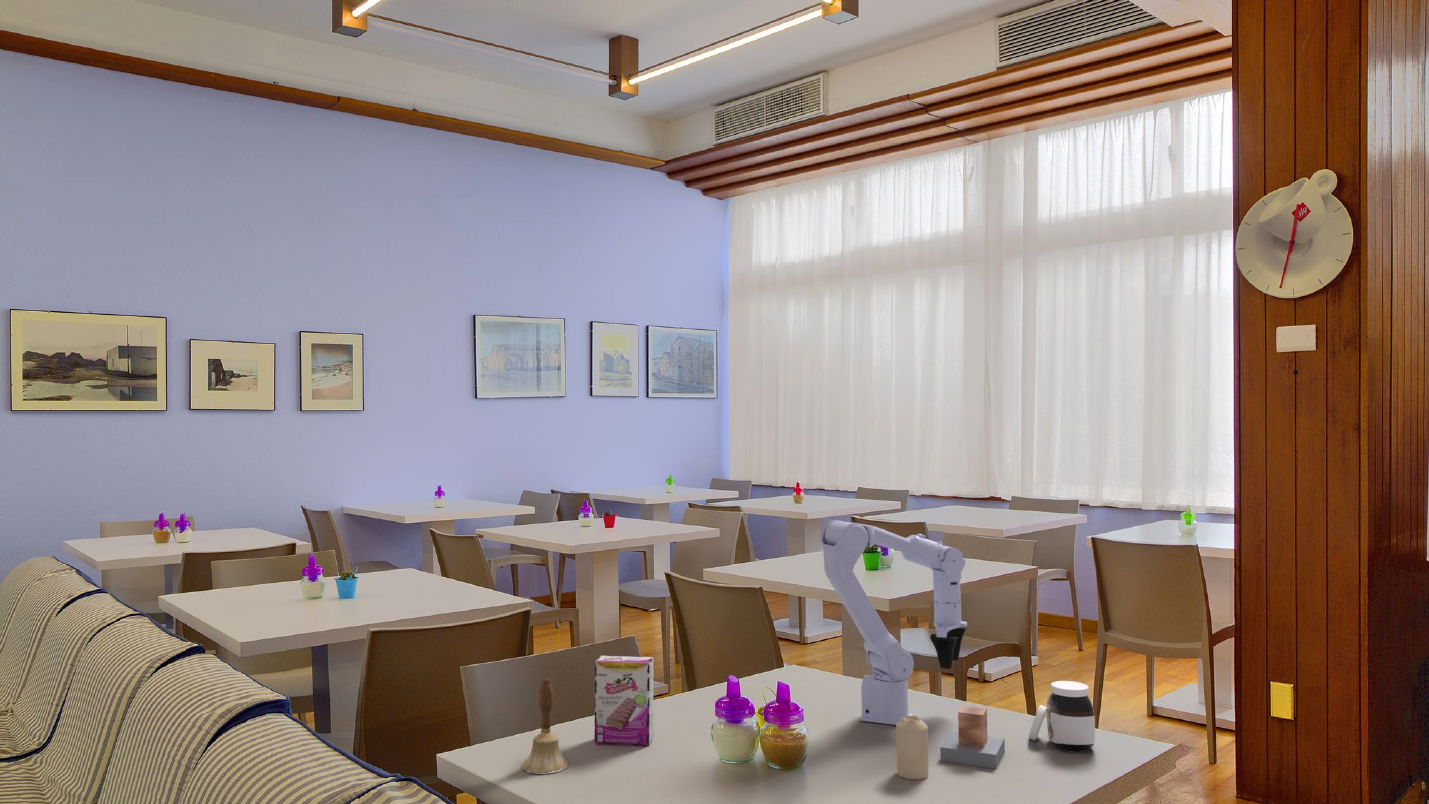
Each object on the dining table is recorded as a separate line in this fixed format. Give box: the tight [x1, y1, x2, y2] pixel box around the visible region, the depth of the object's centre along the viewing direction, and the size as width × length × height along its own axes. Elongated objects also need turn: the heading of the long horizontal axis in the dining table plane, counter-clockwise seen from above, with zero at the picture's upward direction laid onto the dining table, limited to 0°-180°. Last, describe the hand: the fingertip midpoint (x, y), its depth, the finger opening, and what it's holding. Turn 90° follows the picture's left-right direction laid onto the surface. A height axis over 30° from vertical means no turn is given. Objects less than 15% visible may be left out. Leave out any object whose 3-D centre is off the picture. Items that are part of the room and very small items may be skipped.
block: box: [957, 705, 988, 748], centre depth 177 cm, size 4×4×6 cm
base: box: [939, 731, 1006, 769], centre depth 177 cm, size 10×10×2 cm
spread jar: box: [1028, 680, 1096, 753], centre depth 183 cm, size 12×11×12 cm
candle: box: [895, 715, 929, 780], centre depth 168 cm, size 6×6×10 cm
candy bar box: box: [594, 655, 655, 747], centre depth 187 cm, size 11×5×16 cm, turn 84°
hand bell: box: [521, 678, 569, 775], centre depth 173 cm, size 8×8×16 cm
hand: (949, 664), depth 205 cm, fingers open, 7 cm apart
